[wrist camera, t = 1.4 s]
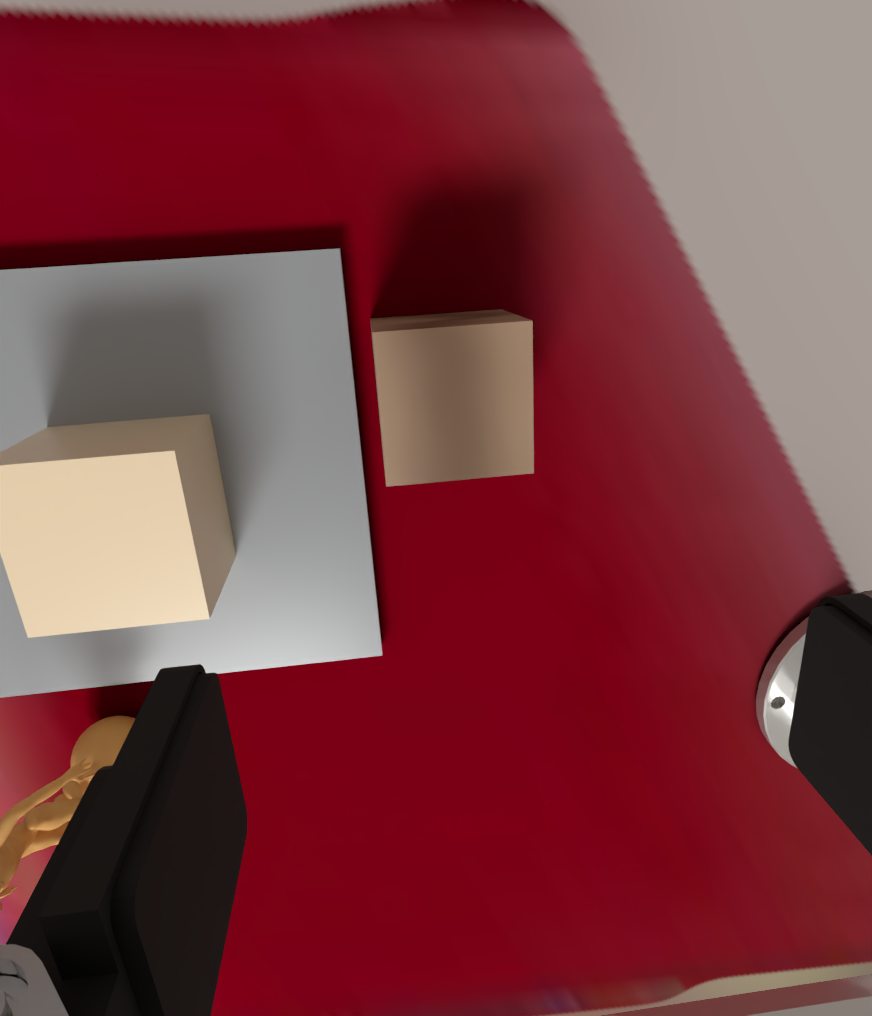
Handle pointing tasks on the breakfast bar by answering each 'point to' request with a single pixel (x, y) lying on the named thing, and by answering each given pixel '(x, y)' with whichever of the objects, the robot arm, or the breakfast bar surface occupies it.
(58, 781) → the figurine
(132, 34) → the breakfast bar surface
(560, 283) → the breakfast bar surface
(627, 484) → the breakfast bar surface
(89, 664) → the base plate
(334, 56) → the breakfast bar surface
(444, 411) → the walnut cube
